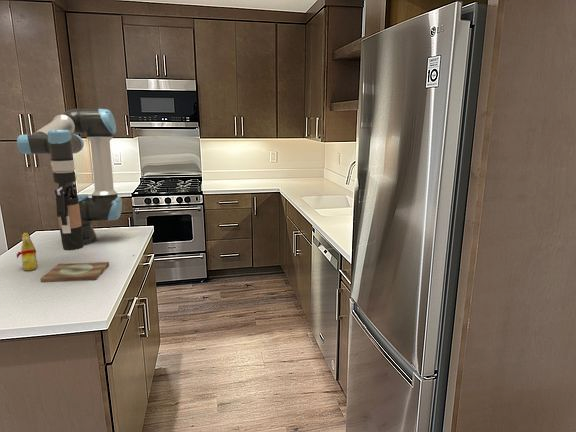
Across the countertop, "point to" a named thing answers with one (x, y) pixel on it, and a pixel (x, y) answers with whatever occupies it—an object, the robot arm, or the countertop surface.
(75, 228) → the travel mug
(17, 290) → the countertop surface
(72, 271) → the walnut board
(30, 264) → the chocolate bunny
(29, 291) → the countertop surface
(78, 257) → the countertop surface
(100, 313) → the countertop surface
